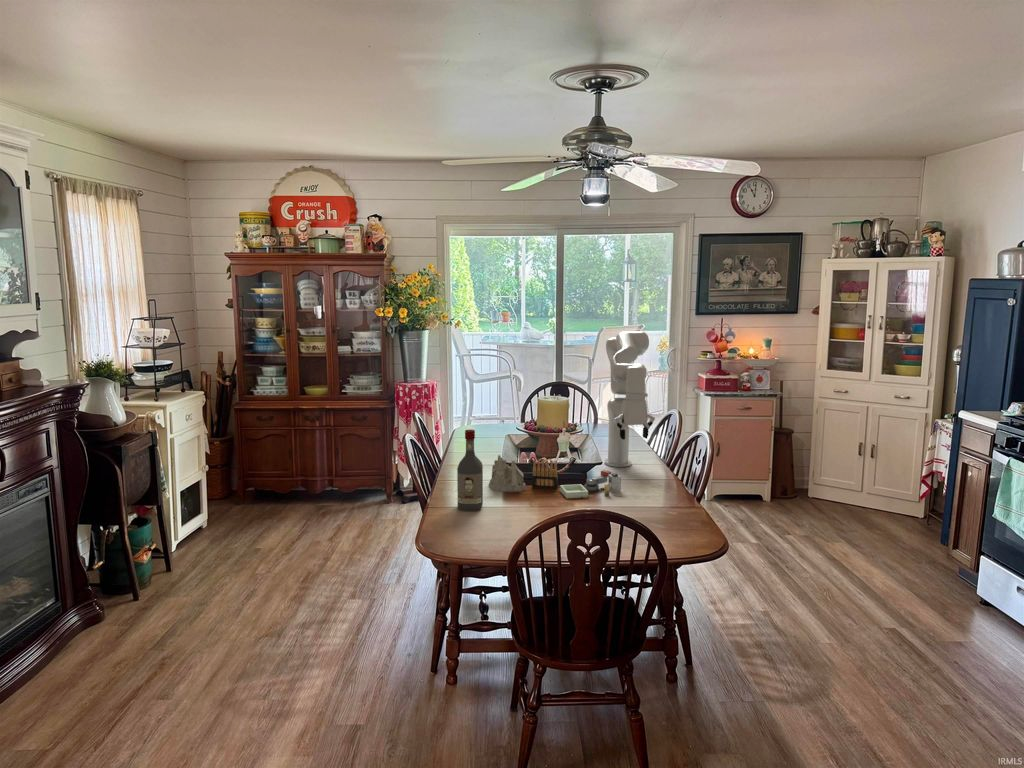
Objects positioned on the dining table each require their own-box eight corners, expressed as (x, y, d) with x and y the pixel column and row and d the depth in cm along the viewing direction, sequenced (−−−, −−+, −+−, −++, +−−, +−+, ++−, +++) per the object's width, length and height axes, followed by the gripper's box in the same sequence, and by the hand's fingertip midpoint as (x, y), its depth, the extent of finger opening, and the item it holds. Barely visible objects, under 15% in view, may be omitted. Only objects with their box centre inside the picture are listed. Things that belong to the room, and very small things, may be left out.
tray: (559, 490, 281) (559, 485, 280) (580, 489, 282) (580, 484, 282) (566, 498, 271) (566, 492, 271) (588, 497, 273) (588, 491, 272)
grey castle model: (523, 492, 278) (523, 456, 277) (484, 491, 281) (483, 455, 280) (530, 484, 293) (529, 449, 292) (493, 483, 296) (492, 449, 295)
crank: (591, 487, 279) (591, 477, 278) (584, 484, 282) (584, 475, 281) (610, 481, 286) (611, 471, 286) (603, 479, 289) (604, 469, 289)
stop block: (608, 489, 283) (608, 473, 282) (617, 489, 283) (617, 472, 282) (611, 492, 279) (611, 475, 278) (620, 492, 280) (621, 475, 278)
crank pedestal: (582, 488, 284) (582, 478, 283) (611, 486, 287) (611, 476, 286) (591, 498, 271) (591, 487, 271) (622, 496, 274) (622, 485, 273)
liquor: (459, 503, 265) (459, 427, 260) (483, 503, 265) (482, 428, 260) (457, 511, 256) (456, 433, 251) (481, 511, 256) (481, 433, 251)
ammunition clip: (531, 487, 285) (532, 459, 283) (532, 486, 287) (532, 458, 285) (557, 489, 283) (557, 461, 281) (557, 487, 285) (558, 460, 283)
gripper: (651, 394, 279) (649, 435, 282) (611, 395, 276) (610, 437, 278) (659, 397, 272) (657, 439, 274) (618, 398, 268) (617, 441, 271)
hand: (633, 438), depth 276 cm, fingers open, 9 cm apart
